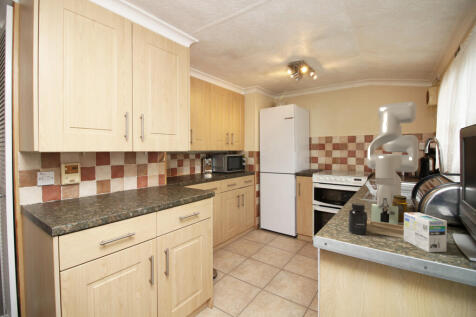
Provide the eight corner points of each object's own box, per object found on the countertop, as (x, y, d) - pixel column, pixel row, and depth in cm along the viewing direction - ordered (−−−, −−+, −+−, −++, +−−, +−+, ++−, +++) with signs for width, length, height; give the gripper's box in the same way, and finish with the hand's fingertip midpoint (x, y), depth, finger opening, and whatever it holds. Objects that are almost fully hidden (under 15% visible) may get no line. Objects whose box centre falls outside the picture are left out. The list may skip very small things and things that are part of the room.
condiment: (410, 221, 107) (411, 196, 106) (403, 224, 102) (403, 198, 101) (393, 217, 113) (393, 194, 112) (385, 220, 108) (386, 196, 108)
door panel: (371, 222, 105) (371, 203, 105) (397, 226, 100) (397, 206, 100) (371, 224, 102) (371, 205, 102) (397, 228, 97) (398, 208, 97)
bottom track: (367, 226, 99) (367, 220, 99) (406, 232, 92) (406, 225, 92) (366, 231, 93) (366, 224, 93) (408, 238, 86) (408, 231, 86)
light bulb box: (447, 252, 74) (448, 220, 74) (428, 253, 74) (429, 221, 73) (418, 239, 85) (419, 211, 85) (402, 240, 85) (403, 212, 84)
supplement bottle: (360, 236, 88) (360, 206, 88) (344, 231, 94) (345, 203, 94) (370, 233, 91) (371, 204, 91) (355, 228, 97) (355, 201, 97)
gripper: (375, 179, 110) (374, 213, 110) (375, 183, 95) (374, 223, 96) (393, 180, 106) (392, 215, 106) (396, 185, 91) (395, 226, 92)
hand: (384, 219), depth 101 cm, fingers open, 9 cm apart
